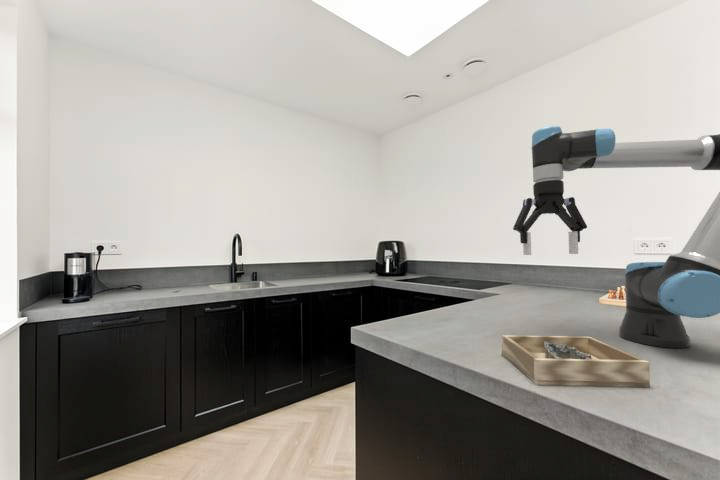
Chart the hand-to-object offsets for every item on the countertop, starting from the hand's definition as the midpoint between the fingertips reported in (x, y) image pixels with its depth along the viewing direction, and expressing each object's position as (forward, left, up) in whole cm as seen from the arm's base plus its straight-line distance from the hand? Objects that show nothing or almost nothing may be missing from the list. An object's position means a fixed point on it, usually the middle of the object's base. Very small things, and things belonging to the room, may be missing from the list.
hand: (550, 254), depth 88 cm
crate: (+7, +19, -26) cm, 32 cm away
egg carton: (+7, +19, -25) cm, 32 cm away
